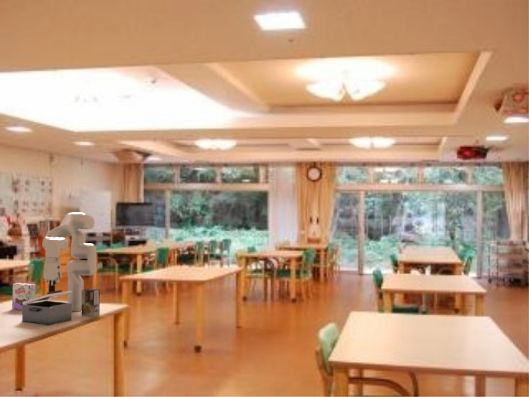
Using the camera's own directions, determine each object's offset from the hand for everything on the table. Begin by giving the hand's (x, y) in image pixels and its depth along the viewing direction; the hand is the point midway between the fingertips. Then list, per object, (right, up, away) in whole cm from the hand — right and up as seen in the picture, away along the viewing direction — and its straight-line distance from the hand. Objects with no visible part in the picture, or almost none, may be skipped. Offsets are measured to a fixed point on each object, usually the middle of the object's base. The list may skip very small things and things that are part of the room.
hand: (51, 292), depth 349 cm
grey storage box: (-3, -17, +1) cm, 17 cm away
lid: (-3, -4, +1) cm, 5 cm away
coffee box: (+17, -18, +19) cm, 31 cm away
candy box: (-32, -17, +38) cm, 53 cm away
